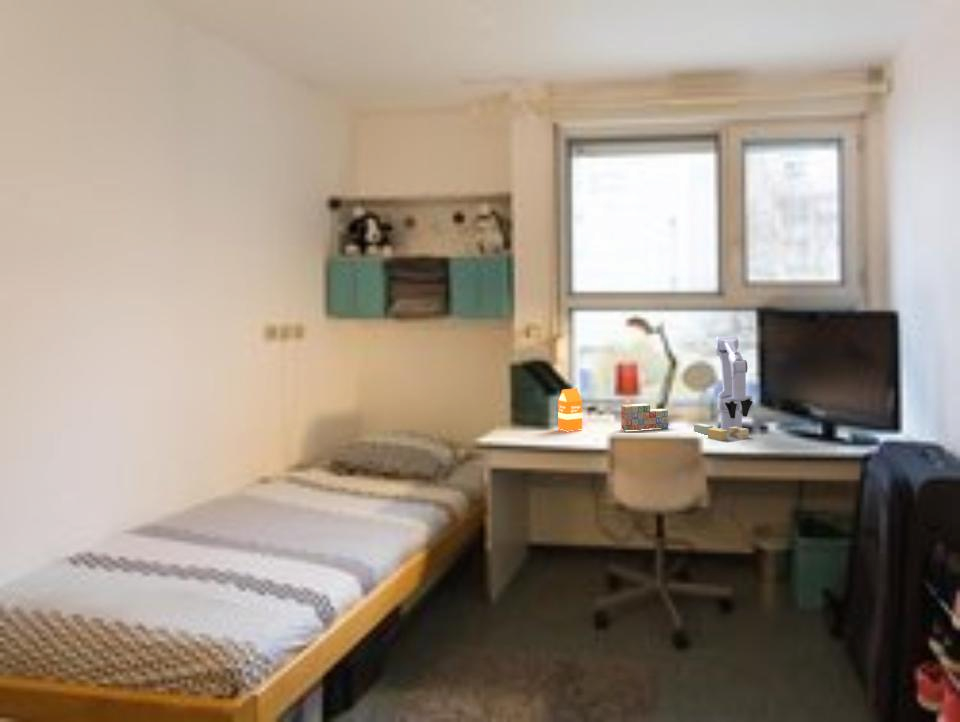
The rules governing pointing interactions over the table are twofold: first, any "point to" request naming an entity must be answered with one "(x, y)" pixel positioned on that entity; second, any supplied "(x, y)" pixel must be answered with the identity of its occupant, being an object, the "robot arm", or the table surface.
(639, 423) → the stack of blocks
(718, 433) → the ochre brick
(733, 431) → the birch brick
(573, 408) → the orange juice
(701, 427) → the sage brick
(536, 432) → the table surface
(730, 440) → the desk mat
